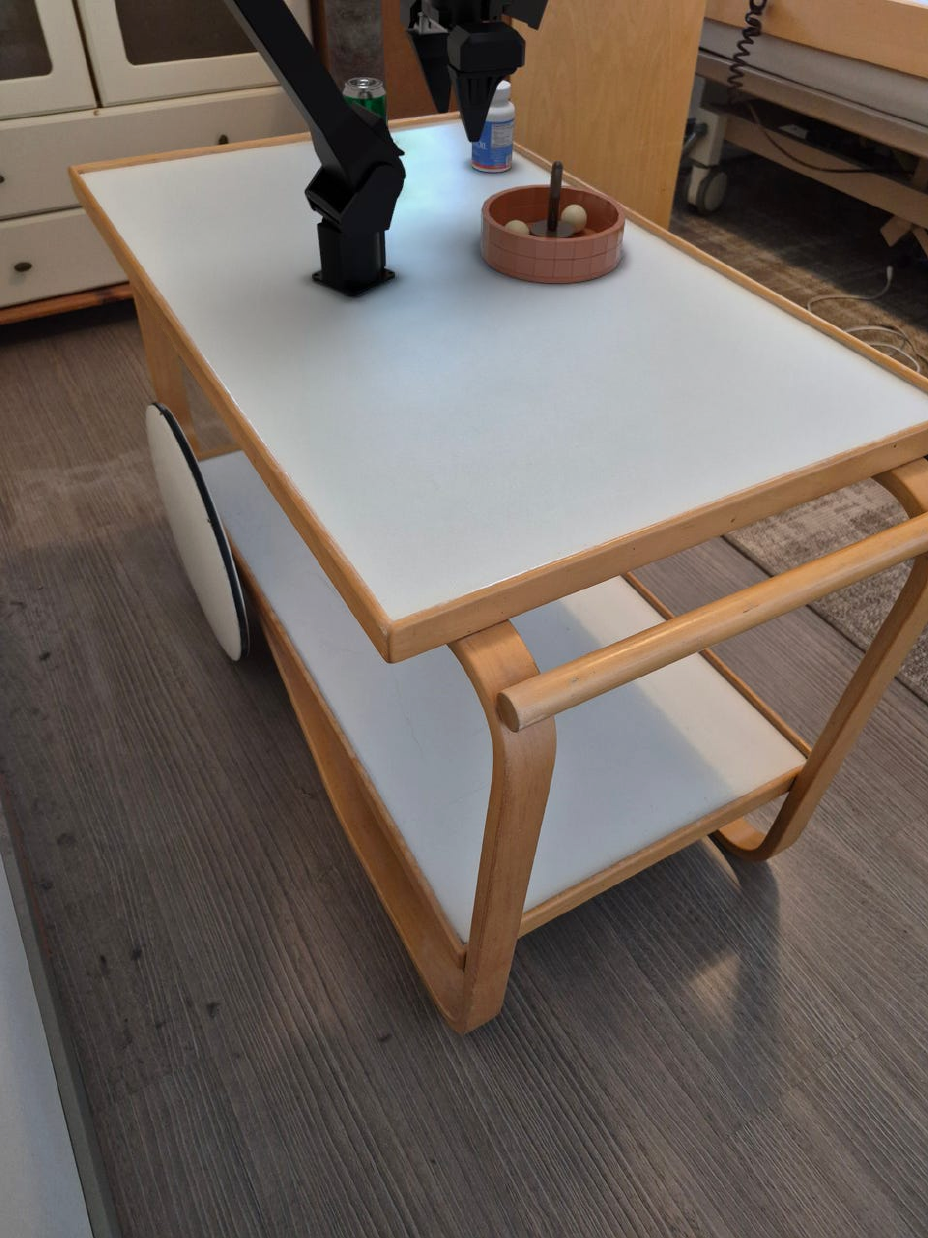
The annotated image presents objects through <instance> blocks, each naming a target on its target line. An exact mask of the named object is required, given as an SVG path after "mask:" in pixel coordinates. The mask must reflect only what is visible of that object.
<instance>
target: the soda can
mask: <svg viewBox="0 0 928 1238" xmlns="http://www.w3.org/2000/svg"><path fill="white" fill-rule="evenodd" d="M382 85H383V84H382V81H380V80H378V79H374V78H354V79H350V80H348V81H346V82H345V86H346V87H345V89H344V91H343V96H344V97H345V99H346V101H347V102H348V104H349V105H351V104H352V103H353V101H355V102H357V103H358V104H360V105H362V106H363V107H365V108H367V109H368V110H370V111H372V112H373V113H375V114H377V115H378V116H380V117H382V118H383V119H384V121H385V123H386V125H387V112H388V102H387V103H386V97H387V91H386V92H385V90H384V89H383V87H382Z"/></svg>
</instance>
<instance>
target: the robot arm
mask: <svg viewBox="0 0 928 1238" xmlns="http://www.w3.org/2000/svg"><path fill="white" fill-rule="evenodd" d="M222 1H223V2H224V4H225V5H226V7H227V9H228V10H229V12H230V13H231V14H232V16H233V17H234V19H235V20H236V22H237V23H238V24H239V26H240V28H241V29H242V30H243V32H244V33H245V35H246V36H247V37H248V39H249V41H250V42H251V43H252V45H253V46H254V48H255V49H256V51H257V53H258V54H259V56H260V57H261V58H262V59H263V61H264V63H265V64H266V66H267V68H268V69H269V70H270V72H271V74H272V75H273V76H274V78H275V79H276V80H277V82H278V83H279V84H280V86H281V88H282V89H283V91H284V92H285V93H286V95H287V97H288V98H289V99H290V100H291V102H292V104H293V105H294V106H295V108H296V110H297V112H298V113H299V114H300V115H301V117H302V118H303V120H304V121H305V123H306V125H307V127H308V130H309V132H310V137H311V140H312V144H313V148H314V151H315V154H316V156H317V158H318V160H319V162H320V167H319V168H318V169H317V171H316V173H315V174H314V176H313V177H312V179H311V180H310V181H309V183H308V185H307V186H306V188H305V189H304V190H303V191H304V192H303V194H304V196H305V199H306V200H307V202H308V205H309V207H310V209H311V210H312V211H313V212H316V213H317V214H318V215H320V217H322V218H321V221H320V222H318V223H317V224H316V230H317V239H318V249H319V250H318V251H319V260H320V262H319V263H320V270H318V271H315V272H313V273H311V279H312V281H314V282H317V283H319V284H322V285H323V286H326V287H329V288H330V289H333V290H336V291H337V292H340V293H343V294H344V295H346V296H349V297H352V298H356V297H358V296H361V295H363V294H365V293H367V292H369V291H371V290H373V289H375V288H377V287H380V286H381V285H383V284H385V283H388V282H390V281H392V280H394V279H395V278H396V272H395V271H393V270H392V269H388V268H386V266H387V253H386V251H387V250H386V249H387V248H386V232H387V231H389V230H390V228H391V225H392V220H393V217H394V213H395V210H396V205H397V203H398V199H399V198H400V196H401V194H402V191H403V189H404V185H405V180H406V178H407V171H406V166H405V165H404V163H403V160H402V159H401V158H400V157H403V156H405V155H406V152H405V150H403V149H401V148H400V147H399V146H398V145H397V144H396V143H395V141H394V139H393V136H392V134H391V132H390V129H389V126H388V127H387V125H386V123H385V121H384V119H383V118H382V117H380V116H378V115H377V114H375V113H373V112H372V111H370V110H368V109H367V108H365V107H363V106H362V105H360V104H358V103H357V102H355V101H353V103H352V104H351V105H349V104H348V102H347V101H346V99H345V97H344V96H343V94H342V93H341V91H340V89H339V88H338V86H337V85H336V83H335V81H334V80H333V78H332V76H331V75H330V71H329V70H328V68H327V67H326V65H325V64H324V62H323V60H322V59H321V57H320V56H319V54H318V52H317V51H316V49H315V47H313V46H314V45H313V44H312V42H311V41H310V39H309V38H308V37H307V35H306V33H305V31H304V30H303V28H302V27H301V25H300V24H299V22H298V21H297V19H296V17H295V16H294V14H293V11H292V10H290V8H289V6H288V5H287V3H286V1H285V0H222ZM548 3H549V0H399V3H398V5H399V23H400V24H401V25H402V26H403V27H404V28H405V29H404V34H405V37H406V38H407V39H408V42H409V44H410V47H411V50H412V51H413V54H414V57H415V59H416V62H417V64H418V66H419V67H418V68H419V69H420V71H421V74H422V77H423V79H424V81H425V84H426V87H427V90H428V92H429V95H430V96H431V100H432V103H433V105H434V107H435V110H436V112H437V114H439V115H440V114H447V113H448V112H449V109H450V108H449V107H450V103H451V95H452V89H453V92H454V93H453V94H454V96H455V100H456V104H457V107H458V111H459V115H460V118H461V122H462V125H463V128H464V132H465V135H466V138H467V141H468V142H469V143H470V144H472V142H478V141H479V140H480V138H481V135H482V132H483V128H484V125H485V122H486V119H487V115H488V112H489V109H490V106H491V102H492V99H493V97H494V94H495V91H496V89H497V86H498V85H499V84H500V83H501V82H502V81H505V79H506V78H507V77H508V76H511V75H514V74H515V73H516V72H517V71H518V68H522V67H524V66H525V63H526V47H527V46H526V45H527V43H526V42H527V41H526V40H525V39H524V37H523V36H522V34H520V32H519V31H518V30H517V29H516V28H514V27H512V26H511V25H509V24H508V23H506V22H505V21H503V15H504V16H507V17H509V18H512V19H514V20H516V21H518V22H521V23H524V24H526V25H527V27H528V28H530V29H532V30H535V31H539V29H540V26H541V24H542V20H543V17H544V14H545V12H546V8H547V6H548Z"/></svg>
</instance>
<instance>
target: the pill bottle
mask: <svg viewBox="0 0 928 1238" xmlns="http://www.w3.org/2000/svg"><path fill="white" fill-rule="evenodd" d="M511 90H512V84H511V83H510V82H508V81H506V80H503V81H502V82H501V83H500V84H499V85H498V86H497V89H496V91H495V94H494V97H493V99H492V102H491V106H490V109H489V112H488V115H487V119H486V122H485V125H484V128H483V132H482V135H481V138H480V140H479V141H478V142H472V143H471V157H470V158H471V166H472V167H473V168H474V169H475V170H477V171H480V172H483V173H502V172H505V171H508V170H509V169H510V168H511V167H512V164H513V152H514V150H513V149H514V135H515V134H514V133H515V118H516V117H515V115H516V109H515V108H516V107H515V106H514V104H513V103H512V102H511V101H510V100H509V99H510V98H511V94H512V93H511Z"/></svg>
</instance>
